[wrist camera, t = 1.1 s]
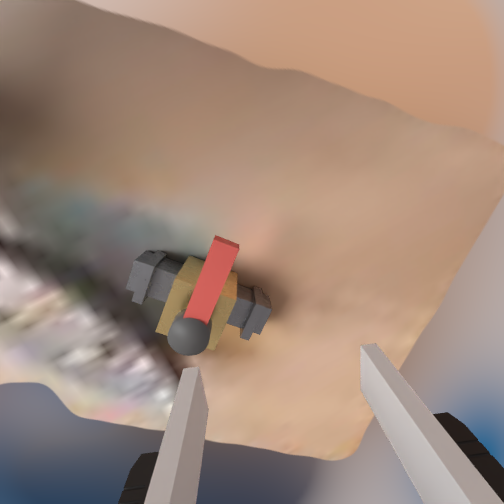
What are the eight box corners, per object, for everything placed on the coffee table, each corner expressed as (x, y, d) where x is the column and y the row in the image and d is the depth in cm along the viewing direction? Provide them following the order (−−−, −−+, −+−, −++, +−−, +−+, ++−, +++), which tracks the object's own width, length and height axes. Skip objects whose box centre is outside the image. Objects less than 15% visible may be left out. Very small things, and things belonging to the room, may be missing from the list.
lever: (204, 345, 28) (201, 360, 26) (168, 333, 27) (162, 348, 25) (247, 246, 25) (247, 253, 23) (207, 231, 24) (204, 237, 22)
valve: (135, 285, 36) (99, 323, 27) (149, 240, 34) (116, 264, 25) (253, 326, 39) (258, 373, 29) (273, 286, 37) (283, 323, 28)
